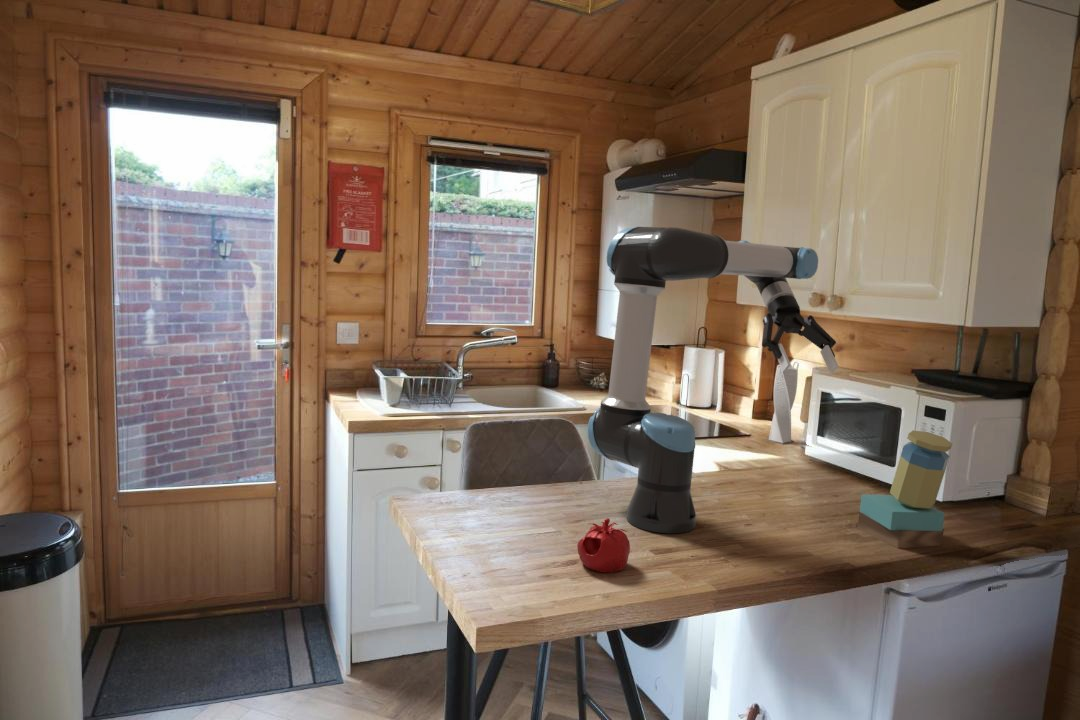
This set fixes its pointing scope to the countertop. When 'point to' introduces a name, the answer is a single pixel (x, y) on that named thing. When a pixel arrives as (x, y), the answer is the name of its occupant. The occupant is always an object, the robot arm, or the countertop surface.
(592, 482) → the countertop surface
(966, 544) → the countertop surface
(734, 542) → the countertop surface
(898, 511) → the tower top
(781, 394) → the skyscraper
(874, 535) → the tower base
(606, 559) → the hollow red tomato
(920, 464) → the jar
